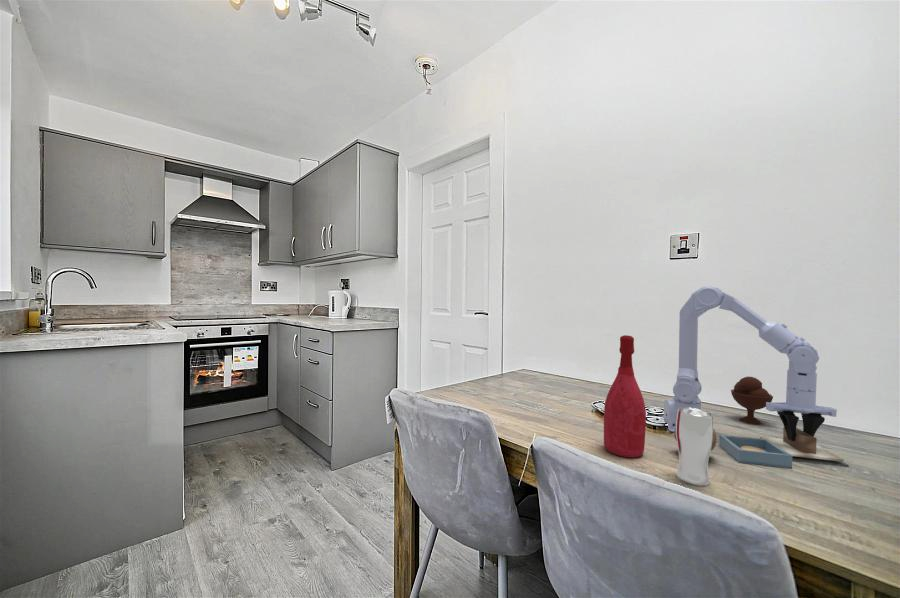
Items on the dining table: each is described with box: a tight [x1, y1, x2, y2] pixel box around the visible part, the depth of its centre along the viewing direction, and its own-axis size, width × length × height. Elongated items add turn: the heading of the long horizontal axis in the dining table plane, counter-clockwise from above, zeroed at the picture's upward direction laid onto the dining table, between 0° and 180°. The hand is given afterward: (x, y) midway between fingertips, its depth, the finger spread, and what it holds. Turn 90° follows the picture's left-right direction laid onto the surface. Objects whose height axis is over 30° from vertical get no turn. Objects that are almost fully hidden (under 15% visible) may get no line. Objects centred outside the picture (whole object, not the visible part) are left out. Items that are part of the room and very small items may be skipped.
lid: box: [759, 426, 845, 463], centre depth 101 cm, size 12×12×4 cm
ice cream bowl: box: [730, 376, 774, 425], centre depth 127 cm, size 11×11×15 cm
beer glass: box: [676, 407, 714, 487], centre depth 85 cm, size 7×7×15 cm
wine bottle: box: [603, 334, 647, 458], centre depth 99 cm, size 10×10×30 cm
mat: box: [792, 456, 850, 468], centre depth 101 cm, size 14×12×1 cm
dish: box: [718, 434, 793, 469], centre depth 98 cm, size 11×11×3 cm
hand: (799, 440), depth 101 cm, fingers closed on lid, 3 cm apart
